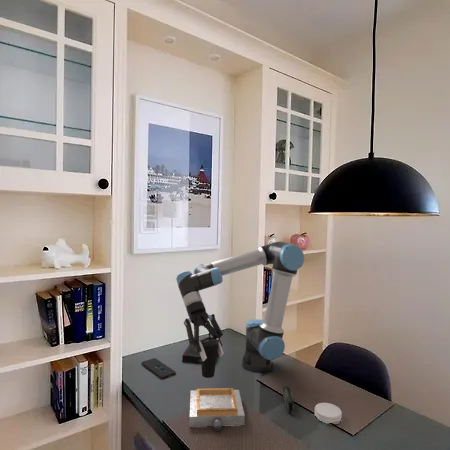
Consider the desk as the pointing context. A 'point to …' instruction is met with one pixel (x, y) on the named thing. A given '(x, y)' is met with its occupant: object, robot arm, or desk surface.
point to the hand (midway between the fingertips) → (213, 357)
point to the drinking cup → (209, 355)
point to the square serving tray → (216, 408)
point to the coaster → (328, 412)
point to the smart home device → (158, 368)
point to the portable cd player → (192, 355)
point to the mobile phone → (288, 399)
